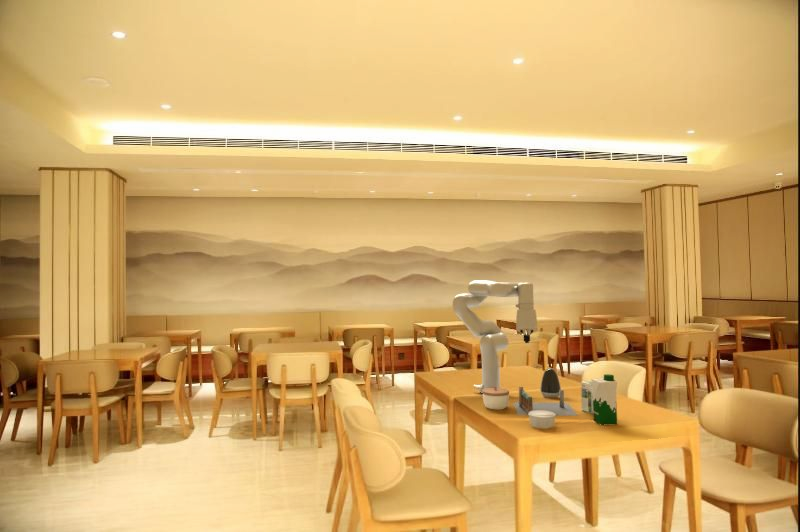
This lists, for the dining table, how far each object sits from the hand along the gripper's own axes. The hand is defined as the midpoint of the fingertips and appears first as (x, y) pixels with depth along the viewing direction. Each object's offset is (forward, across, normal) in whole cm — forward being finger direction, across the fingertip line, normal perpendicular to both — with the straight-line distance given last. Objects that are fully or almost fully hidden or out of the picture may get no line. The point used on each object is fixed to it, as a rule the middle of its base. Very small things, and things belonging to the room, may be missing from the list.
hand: (526, 342), depth 268 cm
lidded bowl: (+29, -17, -21) cm, 40 cm away
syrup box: (+29, +25, -26) cm, 46 cm away
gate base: (+29, +5, -22) cm, 37 cm away
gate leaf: (+27, -4, -28) cm, 39 cm away
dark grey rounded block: (+29, +12, +6) cm, 32 cm away
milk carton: (+29, +28, -40) cm, 57 cm away
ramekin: (+29, +1, -47) cm, 55 cm away
